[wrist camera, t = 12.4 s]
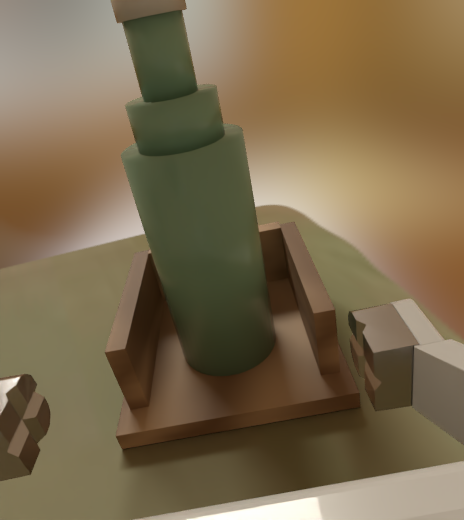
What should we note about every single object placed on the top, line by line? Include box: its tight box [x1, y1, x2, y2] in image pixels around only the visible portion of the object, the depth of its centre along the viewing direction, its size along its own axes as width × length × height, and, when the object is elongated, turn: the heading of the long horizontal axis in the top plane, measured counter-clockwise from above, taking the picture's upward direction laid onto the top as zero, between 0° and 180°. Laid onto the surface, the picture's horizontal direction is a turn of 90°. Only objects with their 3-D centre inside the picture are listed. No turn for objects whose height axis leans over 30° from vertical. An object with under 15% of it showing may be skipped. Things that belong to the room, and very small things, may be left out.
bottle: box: [111, 0, 276, 376], centre depth 21 cm, size 6×6×18 cm
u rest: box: [105, 222, 360, 449], centre depth 25 cm, size 12×12×5 cm
